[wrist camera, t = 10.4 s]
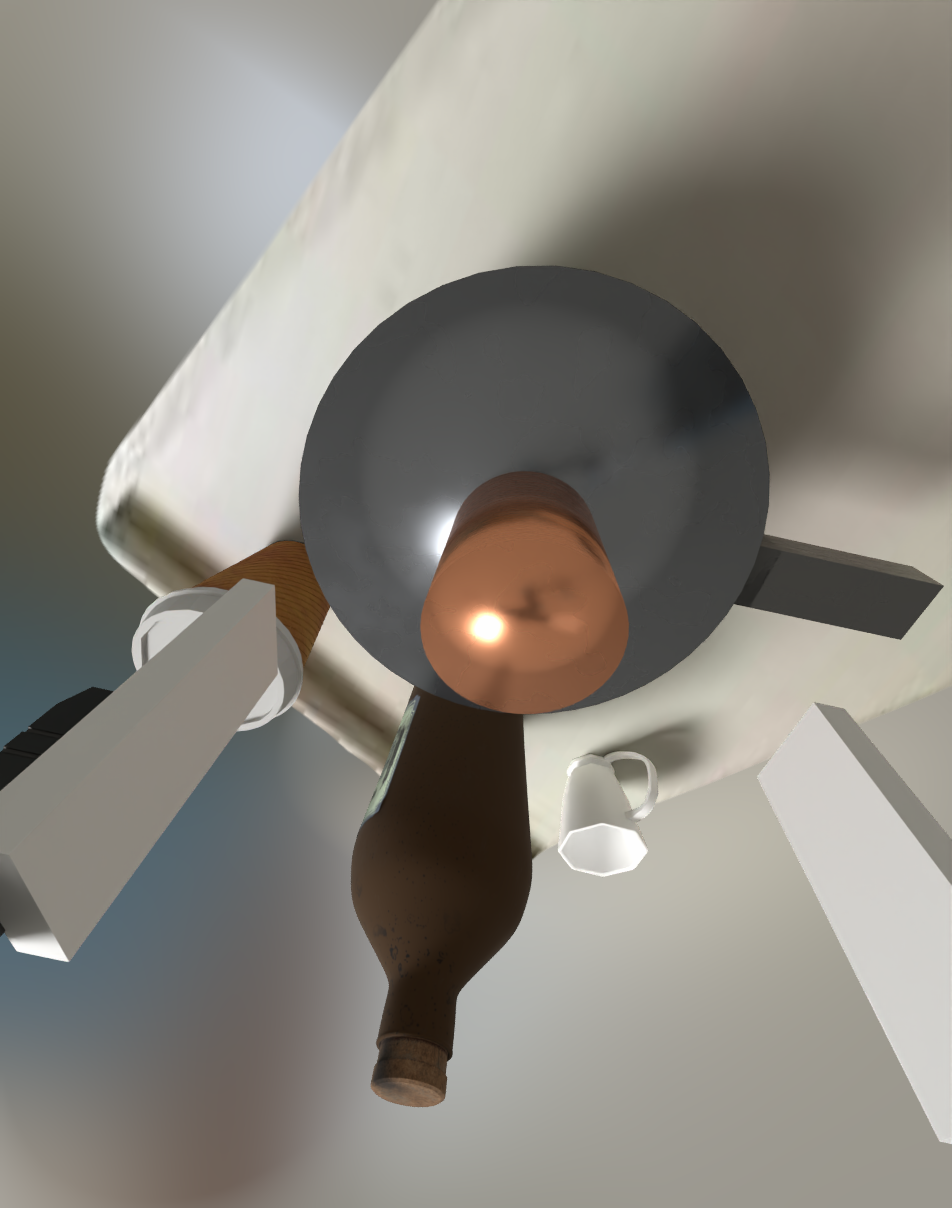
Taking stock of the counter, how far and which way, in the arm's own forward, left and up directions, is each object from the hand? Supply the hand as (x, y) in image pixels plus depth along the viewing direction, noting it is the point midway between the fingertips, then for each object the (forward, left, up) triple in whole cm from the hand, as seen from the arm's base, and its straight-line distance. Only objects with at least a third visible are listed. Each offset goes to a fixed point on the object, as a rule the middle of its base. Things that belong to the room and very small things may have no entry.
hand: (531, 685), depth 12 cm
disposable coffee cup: (+15, +12, -23) cm, 30 cm away
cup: (-13, +25, -23) cm, 36 cm away
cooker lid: (0, 0, -10) cm, 10 cm away
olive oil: (0, +20, -23) cm, 30 cm away
